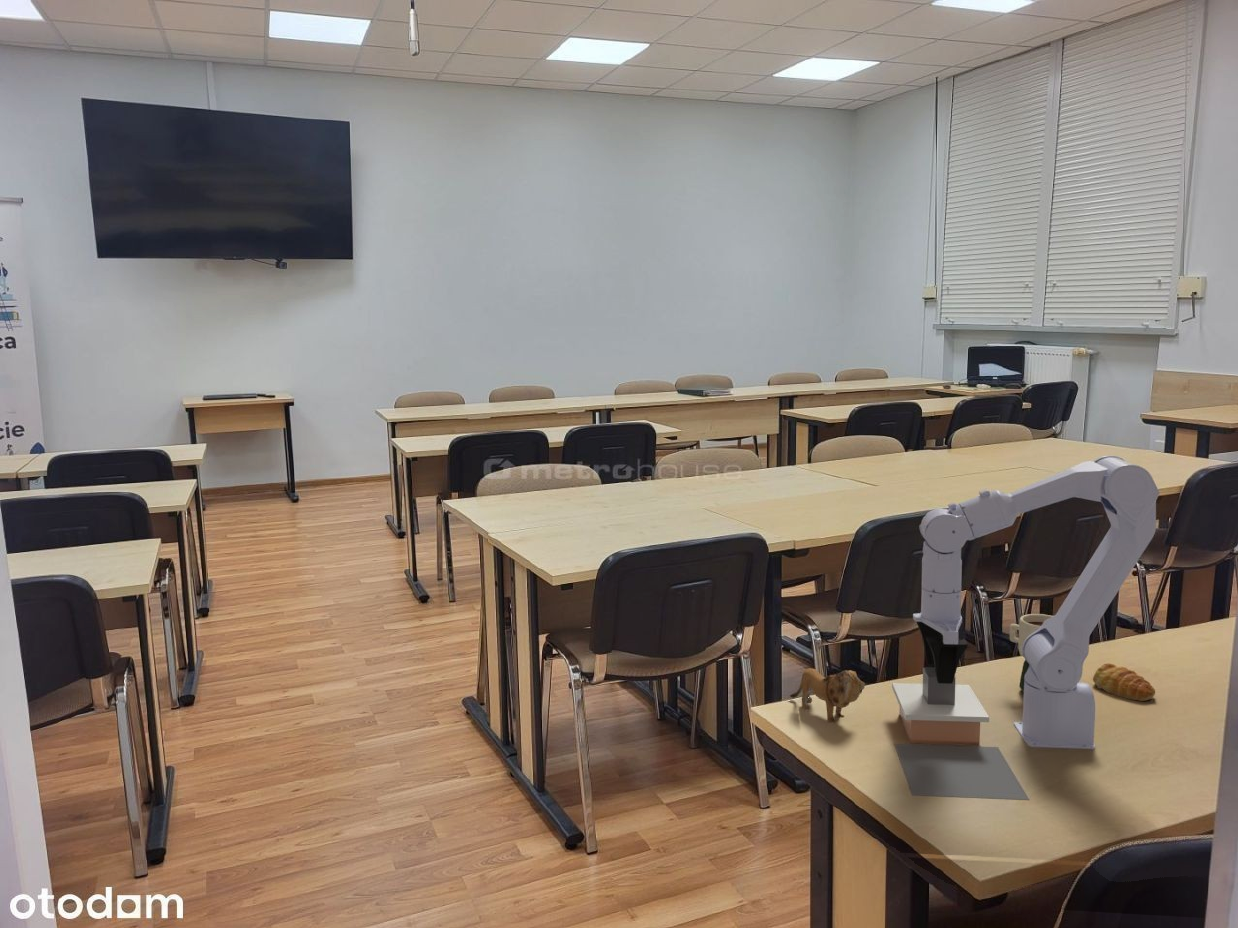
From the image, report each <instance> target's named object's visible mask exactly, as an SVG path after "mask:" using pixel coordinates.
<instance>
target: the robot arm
mask: <svg viewBox="0 0 1238 928" xmlns="http://www.w3.org/2000/svg"><path fill="white" fill-rule="evenodd" d="M978 494H979V495H978V496H976V497H973V498H969V499H968V500H967V499H966V500H965V501H962V502H959V503H955V502H954V501H953V502H950V503H948V504H947V506H948V509H946V508H941V507H940V508H935V509H931V510H930V511H928V512H927V513H926V515H925V516H923V518H922V519H921V523H920V524H919V526H918V527H919V532H920V534H921V536H922V538H923V539H924V541H923V547H922V554H923V555H922V559H921V598H920V599H921V600H920V601H921V603H920V604H921V606H920V613H919V612H918V613H913V614H912V619H913V620H914V621H915V622H916V625H917V626H918V629H919V632H920V635H921V639H922V642H923V643H922V645H923V649H924V654H925V660H926V662H927V665H934V668H935V673H936V678H937V681H938V683H946V684H952V683H953V680H954V677H955V678H956V673H957V670H958V669H957V668H958V665H959V663H960V660H961V658H962V656H963V654H964V653H965V651H966V650H967V648H968V646H969V644H968V643H969V642H968V641H967V640H966V639H959V629H961V625H962V623H963V617H962V614H961V612H962V611H961V609H962V580H963V579H962V578H963V577H962V572H963V569H962V567H963V560H962V548H963V547H964V546H965V544H966V542H967V541H972V540H975V539H977V538H981V537H983V536H986V535H989V534H992V533H995V532H997V531H999V530H1000V531H1001V530H1003V529H1005V528H1009V527H1011V526H1013V525H1014V523H1015V521H1016V519H1017V518H1018V516H1019V515H1021V514H1024V513H1027V512H1030V511H1033V510H1037V509H1039V508H1043V507H1046V506H1049V505H1052V504H1055V503H1060V502H1061V501H1066V500H1068V499H1072V498H1079V499H1083V500H1089V501H1094V502H1100V503H1101V504H1102V505H1103V508H1104V510H1105V513H1106V516H1107V518H1108V520H1109V523H1110V527H1109V529H1108V530H1107V532H1106V534H1105V535H1104V537H1103V539H1102V541H1100V544H1099V545H1098V547H1097V548H1096V549H1095V552H1094V553H1093V555H1092V556H1091V557H1090V560H1088V563H1087V564H1086V566H1085V567H1084V569H1083V571H1082V572H1081V574H1080V575H1079V577H1078V578H1077V580H1076V582H1075V584H1074V585H1073V587H1072V588H1071V590H1070V591H1069V593H1068V595H1067V597H1066V598H1065V599H1064V601H1063V602H1062V603H1061V606H1060V607H1059V609H1058V610H1057V612H1056V613H1055V614H1054V615H1052V616H1053V617H1051V618H1049V619H1047V620H1045V621H1044V623H1043V624H1042V626H1041V627H1040V628H1039V629H1038V630H1037V631H1035V632H1033V633H1032V634H1030V635H1029V636H1028V637H1027V638H1026V639H1025V641H1024V643H1023V647H1022V652H1023V656H1024V657H1023V656H1022V657H1023V658H1024V661H1025V660H1026V661H1027V662H1028V663H1029V664H1030V665H1029V668H1028V670H1027V672H1026V673H1025V676H1024V691H1023V702H1022V703H1023V704H1022V721H1014V722H1013V726H1014V727H1015V729H1016V731H1017V732H1018V733H1019V735H1020V736H1021V738H1022V740H1023V741H1024V742H1025V744H1026V745H1027V747H1030V748H1049V749H1050V748H1053V749H1054V748H1055V749H1079V750H1081V749H1082V750H1085V749H1086V750H1096V745H1095V743H1094V742H1095V741H1094V740H1095V739H1094V738H1095V725H1096V724H1095V722H1096V699H1095V695H1094V691H1093V689H1092V687H1091V686H1090V684H1089V683H1087V682H1083V681H1082V682H1081V679H1082V676H1083V666H1084V663H1085V660H1086V659H1087V658H1088V655H1089V651H1090V650H1089V649H1090V636H1091V634H1092V632H1093V631H1094V629H1095V628H1096V626H1097V625H1098V623H1099V621H1100V620H1101V619H1102V617H1103V615H1105V613H1106V611H1107V609H1108V608H1109V606H1110V604H1111V603H1112V601H1113V600H1114V599H1115V598H1116V595H1117V594H1118V592H1119V591H1120V589H1121V588H1122V586H1123V584H1124V583H1125V582H1126V579H1127V578H1128V576H1129V575H1130V574H1131V572H1132V570H1133V569H1134V567H1135V566H1136V564H1137V563H1138V562H1139V560H1140V558H1141V556H1142V555H1143V554H1144V551H1146V549H1147V547H1148V546H1149V544H1150V543H1151V541H1152V540H1153V538H1154V535H1155V533H1156V532H1157V531H1156V530H1157V529H1156V528H1157V500H1158V497H1159V495H1160V491H1159V489H1158V487H1157V484H1156V483H1155V481H1154V478H1153V476H1152V475H1151V473H1150V472H1149V471H1148V470H1147V469H1146V468H1144V467H1143V466H1140V465H1137V464H1133V463H1130V462H1128V461H1126V460H1124V459H1123V458H1121V457H1119V456H1117V455H1104V456H1100V457H1098V458H1096V459H1095V460H1088V461H1083V462H1080V463H1078V464H1076V465H1074V466H1072V467H1069V468H1068V469H1064V470H1063V471H1061V472H1058V473H1055V474H1053V475H1051V476H1048V477H1046V478H1043V479H1040V480H1038V481H1036V482H1034V483H1031V484H1028V485H1026V486H1025V487H1022V488H1020V489H1017V490H1015V491H1013V492H1009V493H1005V492H1003V491H1001V490H999V489H994V490H992V491H990V490H989V489H987V488H985V489H982V490H980V491H979V490H978Z"/></svg>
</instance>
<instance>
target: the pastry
mask: <svg viewBox="0 0 1238 928" xmlns="http://www.w3.org/2000/svg"><path fill="white" fill-rule="evenodd" d="M1092 681H1093V682H1094V684H1095V685H1096V687H1097V688H1098V689H1103V690H1104V691H1105V692H1107V693H1109V694H1111V695H1115V696H1117V697H1121V698H1125V699H1127V700H1131V701H1140V702H1144V701H1149V700H1151V699H1153V698H1154V696H1155V694H1156V689H1155V687H1154V686H1152V685H1151V683H1150V681H1148V680H1146V679H1145V678H1144V677H1143V676H1141V675H1139V674H1137V672H1136V671H1135V670H1131V669H1128V668H1127V667H1126V666H1125V667H1124V666H1117V665H1115V664H1113V663H1103V664H1102V665H1101V666H1100V667H1098V668H1097V669H1096V670H1095V673H1094V675H1093V677H1092Z"/></svg>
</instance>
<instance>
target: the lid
mask: <svg viewBox="0 0 1238 928" xmlns="http://www.w3.org/2000/svg"><path fill="white" fill-rule="evenodd" d="M891 684H892V685H891V688H892V691H893V693H894V695H895V698H896V700H897V703H898V705H899V708H901V711H902V713H903V715H904V718H905V720H929V721H963V722H980V723H990V716H989V715H988V713H987V711H986V709H985V708H984V707H983V705H982V703H981V702H980V700H979V699H978V697H977V695H976V694H975V692H974V690H973V689H972V688H971V686H970V684H956V676H955V677H954V680H953V683H952V684H946V683H938V681H937V678H936V673H935V666H934V667H928V666H926V667H922V683H907V682H906V683H903V682H901V683H900V682H893V683H891Z"/></svg>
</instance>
